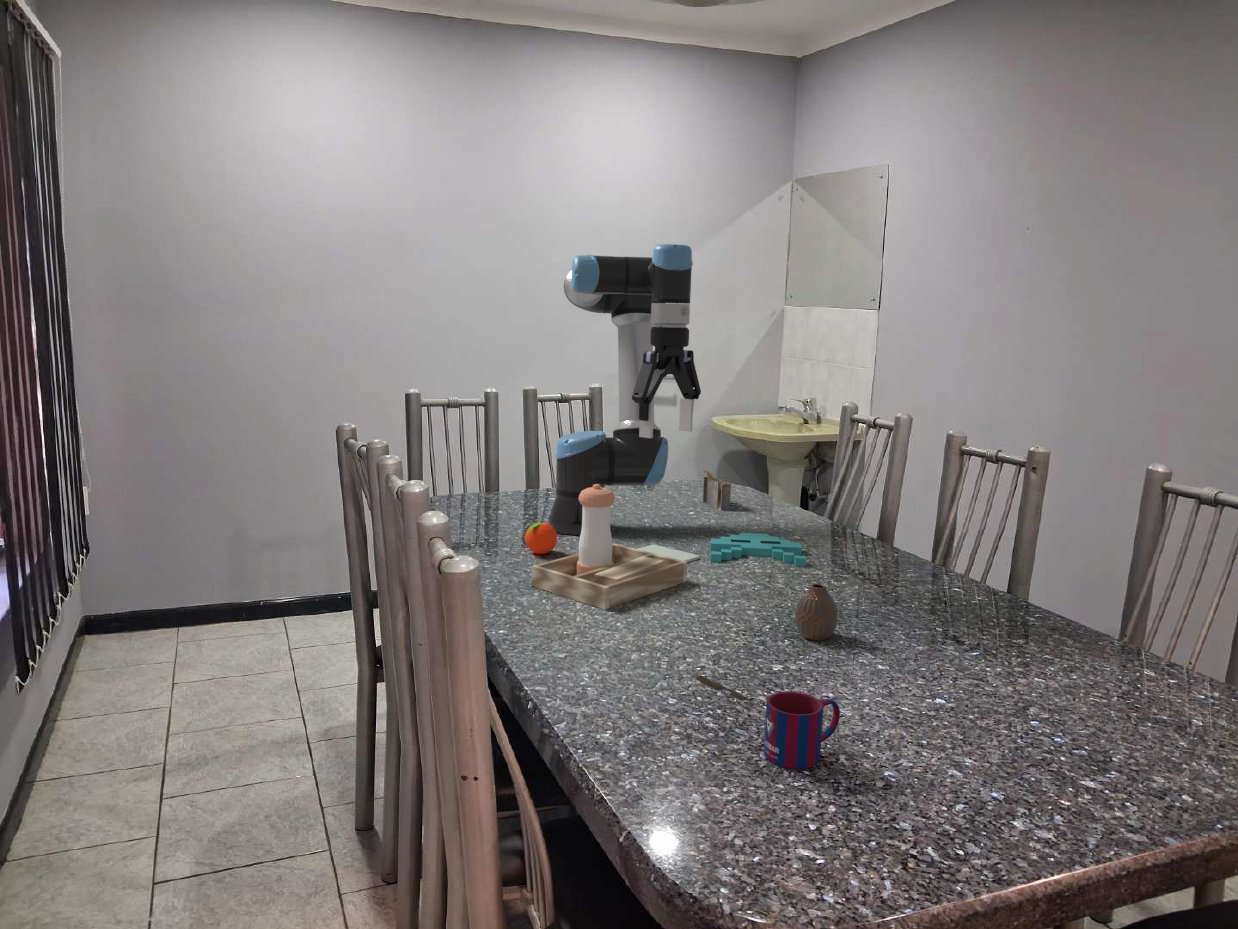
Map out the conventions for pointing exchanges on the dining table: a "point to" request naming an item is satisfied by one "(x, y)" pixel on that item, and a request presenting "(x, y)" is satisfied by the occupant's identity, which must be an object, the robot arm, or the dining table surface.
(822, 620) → the vase
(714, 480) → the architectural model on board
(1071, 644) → the dining table surface
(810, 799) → the dining table surface
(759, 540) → the alien figure
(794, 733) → the mug
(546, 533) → the clementine
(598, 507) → the salt shaker
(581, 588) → the rack
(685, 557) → the mat
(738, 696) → the thin brown sliver
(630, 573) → the upper offcut
